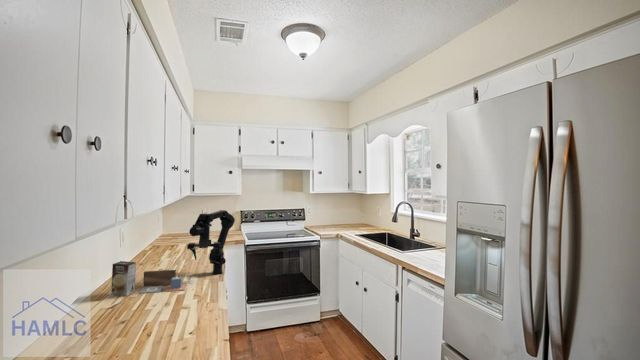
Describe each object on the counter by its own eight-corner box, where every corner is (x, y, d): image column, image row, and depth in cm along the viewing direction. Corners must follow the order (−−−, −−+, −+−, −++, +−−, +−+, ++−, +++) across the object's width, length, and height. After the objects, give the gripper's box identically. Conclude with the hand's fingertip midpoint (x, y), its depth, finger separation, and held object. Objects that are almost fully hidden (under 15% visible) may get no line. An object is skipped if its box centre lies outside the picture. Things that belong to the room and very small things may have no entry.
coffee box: (110, 295, 156) (111, 263, 157) (119, 291, 163) (120, 261, 163) (126, 296, 155) (128, 264, 156) (135, 292, 162) (136, 261, 162)
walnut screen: (144, 285, 173) (144, 271, 173) (175, 283, 177) (175, 269, 178) (143, 286, 171) (143, 272, 171) (174, 284, 175) (175, 270, 176)
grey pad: (144, 287, 169) (144, 286, 169) (164, 286, 172) (164, 285, 172) (139, 293, 160) (139, 292, 160) (160, 292, 162) (160, 291, 162)
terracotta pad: (168, 286, 173) (168, 285, 173) (187, 284, 175) (187, 283, 176) (164, 291, 163) (164, 290, 163) (184, 290, 166) (184, 289, 166)
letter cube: (172, 286, 171) (172, 276, 171) (181, 285, 172) (182, 276, 173) (170, 288, 166) (170, 279, 166) (180, 288, 168) (180, 278, 168)
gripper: (186, 236, 178) (185, 263, 177) (220, 235, 183) (219, 261, 183) (188, 233, 188) (188, 259, 188) (220, 233, 194) (219, 257, 193)
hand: (203, 259), depth 188 cm, fingers open, 9 cm apart
